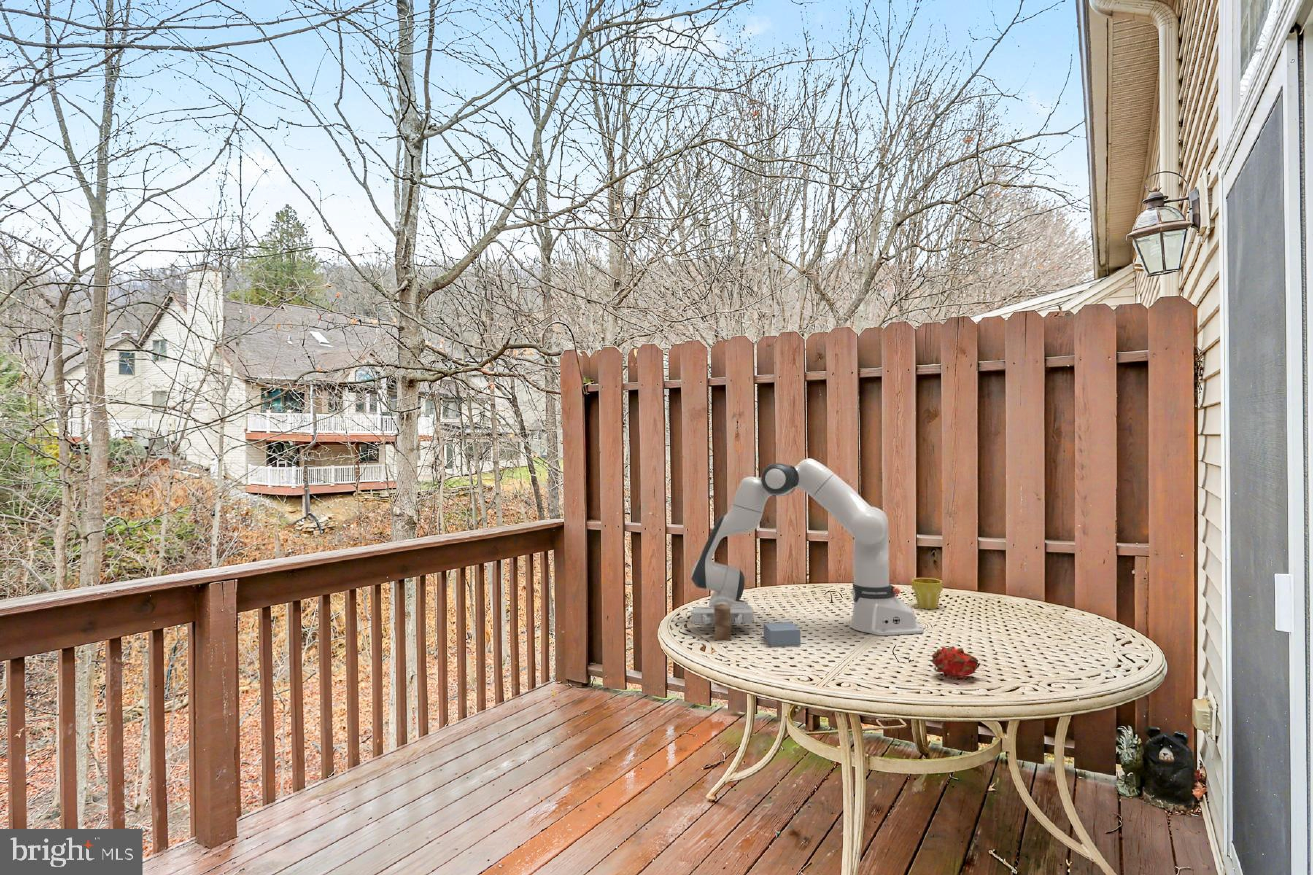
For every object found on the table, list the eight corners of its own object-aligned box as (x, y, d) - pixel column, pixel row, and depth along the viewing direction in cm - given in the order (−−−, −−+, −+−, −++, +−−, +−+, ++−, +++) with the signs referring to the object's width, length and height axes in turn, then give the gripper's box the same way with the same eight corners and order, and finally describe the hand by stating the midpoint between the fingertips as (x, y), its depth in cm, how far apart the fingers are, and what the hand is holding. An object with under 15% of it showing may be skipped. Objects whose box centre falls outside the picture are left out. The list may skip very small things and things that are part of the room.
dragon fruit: (927, 681, 166) (976, 689, 164) (937, 671, 159) (988, 679, 157) (925, 648, 171) (973, 656, 169) (935, 637, 164) (984, 645, 162)
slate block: (791, 637, 202) (791, 621, 202) (800, 646, 193) (800, 629, 193) (763, 639, 201) (763, 623, 201) (771, 647, 192) (770, 631, 192)
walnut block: (730, 635, 204) (729, 604, 205) (731, 640, 199) (730, 608, 200) (715, 635, 205) (714, 604, 205) (715, 640, 200) (714, 608, 200)
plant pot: (916, 610, 230) (915, 583, 230) (909, 603, 240) (908, 577, 240) (946, 610, 228) (945, 583, 228) (938, 603, 238) (937, 577, 239)
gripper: (690, 601, 216) (689, 611, 202) (752, 600, 214) (754, 611, 201) (691, 619, 216) (689, 631, 202) (752, 619, 214) (755, 631, 200)
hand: (722, 621), depth 201 cm, fingers open, 8 cm apart
